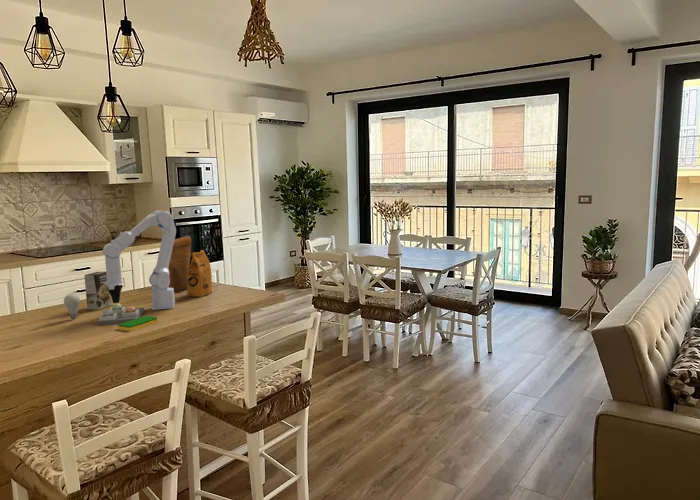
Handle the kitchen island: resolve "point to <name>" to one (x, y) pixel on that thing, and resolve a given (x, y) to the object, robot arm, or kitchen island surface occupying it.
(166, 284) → the robot arm
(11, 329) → the kitchen island surface
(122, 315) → the button panel
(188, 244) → the pancake mix bag
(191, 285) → the coffee package
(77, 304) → the lightbulb
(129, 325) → the dish sponge
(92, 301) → the coffee box
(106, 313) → the slate button
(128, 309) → the terracotta button
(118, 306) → the sage button
